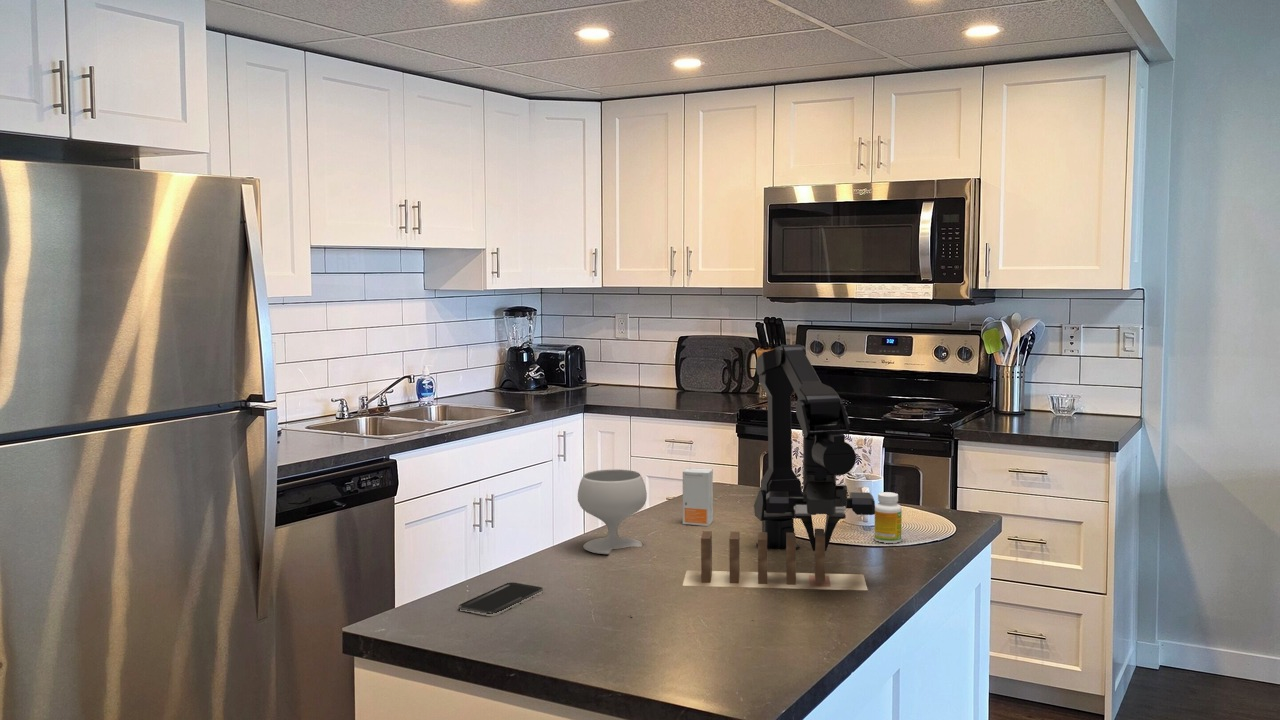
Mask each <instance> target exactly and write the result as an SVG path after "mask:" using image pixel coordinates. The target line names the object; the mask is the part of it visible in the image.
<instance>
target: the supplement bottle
mask: <svg viewBox="0 0 1280 720" xmlns="http://www.w3.org/2000/svg"><path fill="white" fill-rule="evenodd" d="M877 500H878V503H876V504H875V514H874V534H873V535H874V540H875V541H876V542H877V541H879V542H878V543H880V542H884V543H883V544H886V543H893V544H898V543H897V542H899V543H901V541H902V520H903V519H902V516H903V515H902V512H903V511H902V506H901V505H900V504H898V502H899V494H898V493H897V492H896V493H895V492H890V491H889V492H888V491H885V492H884V491H883V492H879V493H878V494H877Z"/></svg>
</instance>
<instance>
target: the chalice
mask: <svg viewBox="0 0 1280 720" xmlns="http://www.w3.org/2000/svg"><path fill="white" fill-rule="evenodd" d="M582 475H583V476H582V477H581V480H580V481H579V485H578V489H577V502H578V504H579V506H580V509H582V510H583V511H584V512H586V513H587V514H589V515H591V516H592V517H594V518H596V519H598V520H600V521H602V522H603V523H604V524H605V525H606V528H607V530H608V533H607V535H606V537H600V538H594V539H592V540H588V541H587V542H585V543H584V544H583V545H582V546H583V547H582V548H583V549H584V550H585V551H588V552H591V553H593V554H599V555H600V554H602V555H610V554H611V552H612V551H613V550H615V549H616V550H617V549H618V550H619V549H625V548H630V547H641V548H642V547H644V544H643V543H642V542H641V541H640V540H638V539H636V538H631V537H625V536H623V537H622V536H619V534H618V533H619V532H618V529H619V526H620V524H621V523H622V522H624V520H626V519H627V518H629V517H631V516H633V515H634V514H636V513H638V512H639V511H640V510H642V509H643V507H644V506H645V504H646V502H647V497H648V496H647V495H648V493H647V488H646V484H645V481H644V479H643V477H642V475H641V473H640V472H638V471H635V470H630V469H629V470H628V469H618V468H617V469H616V468H615V469H611V468H610V469H599V470H592V471H589V472H588V471H587V472H585V473H584V474H582Z"/></svg>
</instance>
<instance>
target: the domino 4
mask: <svg viewBox="0 0 1280 720" xmlns="http://www.w3.org/2000/svg"><path fill="white" fill-rule="evenodd" d="M796 544H797V538H796V532H794V533H786V549H785V550H786V554H785V555H786V556H785V557H786V561H785V564H786V569H785V573H786V580H787V585H796V573H797V563H796V561H797V549H796Z"/></svg>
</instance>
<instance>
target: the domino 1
mask: <svg viewBox="0 0 1280 720" xmlns="http://www.w3.org/2000/svg"><path fill="white" fill-rule="evenodd" d="M712 532H713V531H711V530H708V531H707V530H704V531H703V530H702V534H701V537H700V558H701V559H700V560H701V561H700V562H701V563H700V571H701V583H710V582H711V577H712V571H713V554H712V553H713V541H712V539H713V535H712V534H713V533H712Z"/></svg>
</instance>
